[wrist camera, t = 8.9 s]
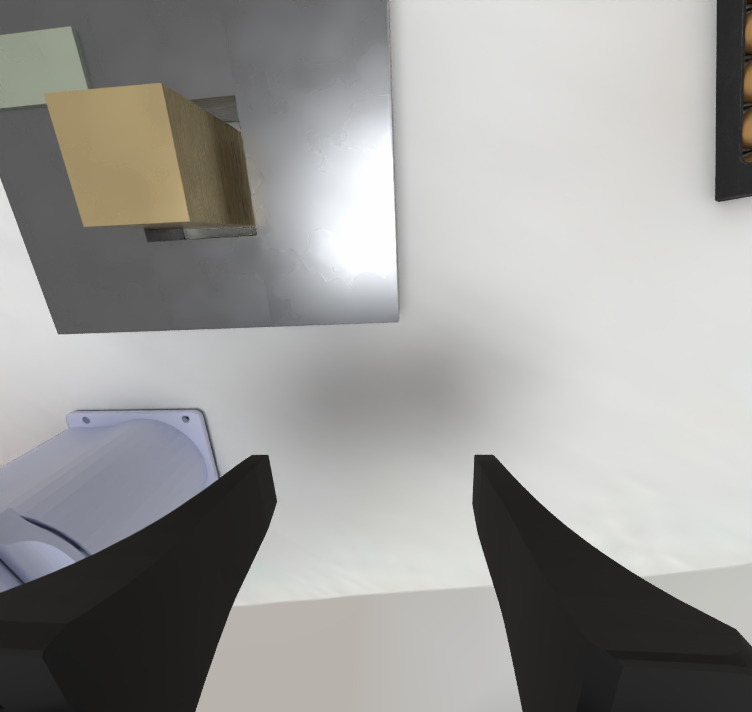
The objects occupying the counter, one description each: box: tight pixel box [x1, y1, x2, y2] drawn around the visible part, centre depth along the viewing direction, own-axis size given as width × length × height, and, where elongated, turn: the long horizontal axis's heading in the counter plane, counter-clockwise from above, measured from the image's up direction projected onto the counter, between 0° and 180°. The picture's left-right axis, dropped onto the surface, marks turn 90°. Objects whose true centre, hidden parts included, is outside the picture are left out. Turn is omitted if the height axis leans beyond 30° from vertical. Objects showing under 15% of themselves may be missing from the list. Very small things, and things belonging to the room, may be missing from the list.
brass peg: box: [44, 83, 256, 230], centre depth 15 cm, size 4×4×7 cm
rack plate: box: [0, 0, 399, 334], centre depth 16 cm, size 18×14×3 cm
